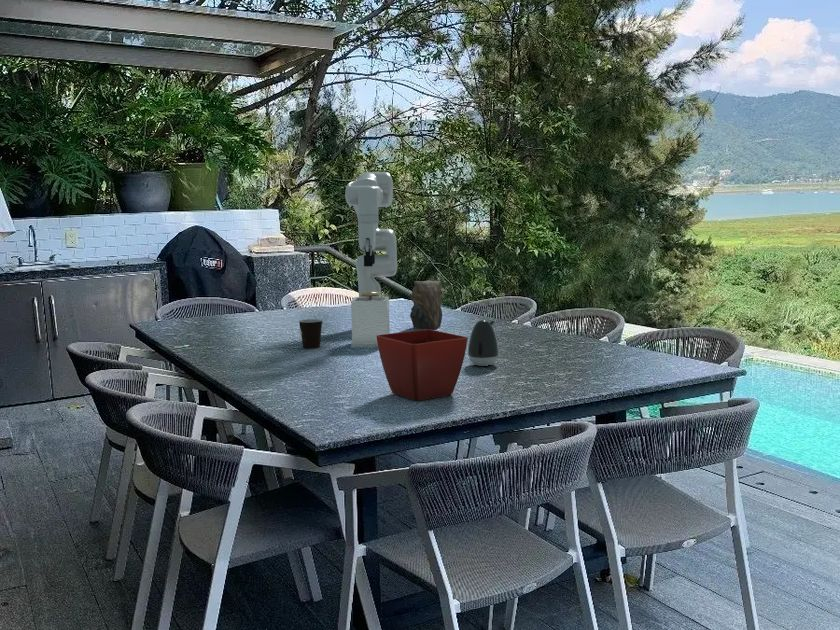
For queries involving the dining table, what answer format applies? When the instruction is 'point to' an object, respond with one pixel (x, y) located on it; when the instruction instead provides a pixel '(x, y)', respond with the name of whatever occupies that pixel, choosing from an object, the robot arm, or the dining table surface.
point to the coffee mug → (311, 333)
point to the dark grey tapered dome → (483, 344)
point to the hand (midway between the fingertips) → (369, 265)
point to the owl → (426, 304)
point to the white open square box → (369, 321)
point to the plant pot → (422, 362)
